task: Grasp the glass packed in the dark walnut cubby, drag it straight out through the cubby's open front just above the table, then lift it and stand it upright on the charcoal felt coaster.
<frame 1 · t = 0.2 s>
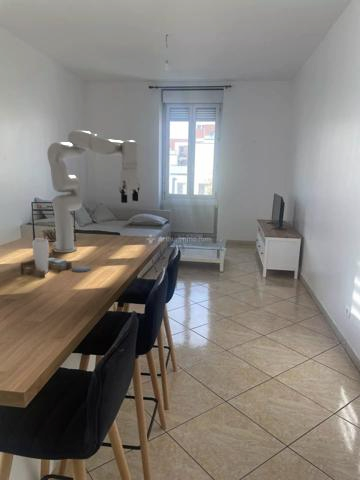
hand: (129, 201, 177), 31 cm above the table, fingers open, 9 cm apart
walnut cubby: (48, 270, 165), on the table
felt coaster: (81, 269, 168), on the table
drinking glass: (42, 272, 162), resting in walnut cubby
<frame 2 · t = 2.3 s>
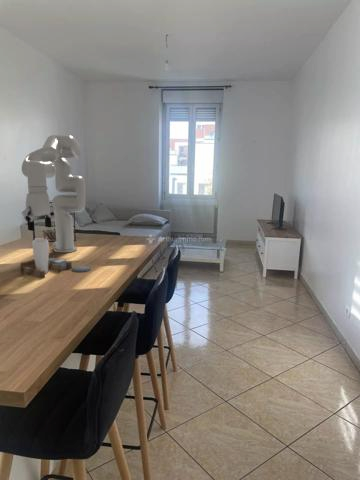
hand: (40, 228, 158), 20 cm above the table, fingers open, 9 cm apart
nothing on the table moved.
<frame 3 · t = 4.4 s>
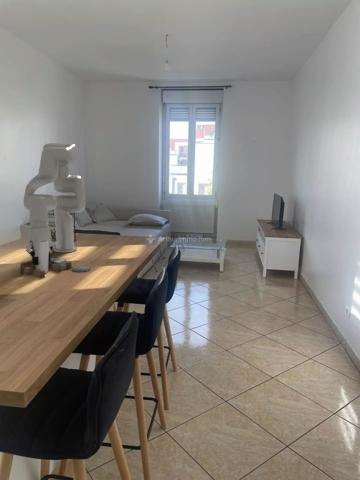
hand: (41, 262, 161), 5 cm above the table, fingers closed on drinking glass, 6 cm apart
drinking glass: (42, 272, 162), resting in walnut cubby, touching gripper
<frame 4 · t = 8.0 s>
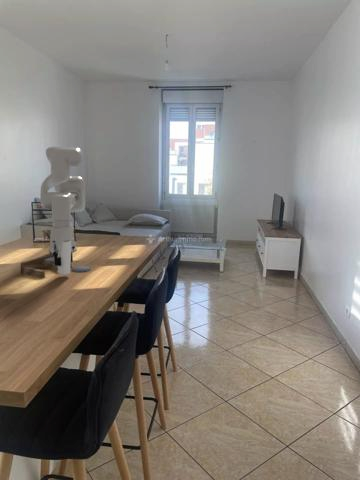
hand: (63, 263, 156), 6 cm above the table, fingers closed on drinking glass, 6 cm apart
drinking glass: (64, 273, 157), point 1 cm above the table, touching gripper
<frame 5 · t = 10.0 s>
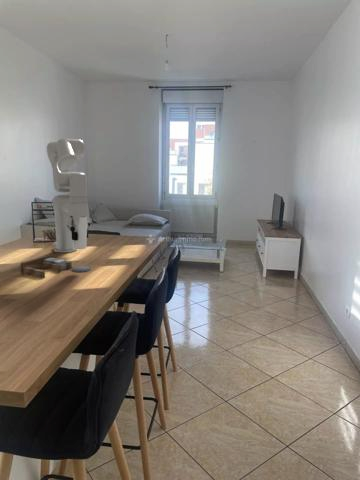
hand: (80, 238, 165), 15 cm above the table, fingers closed on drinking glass, 6 cm apart
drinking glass: (80, 248, 166), point 10 cm above the table, touching gripper
when the fingers open (6 cm above the table, at t = 11.8 s): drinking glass stays where it is, resting on felt coaster.
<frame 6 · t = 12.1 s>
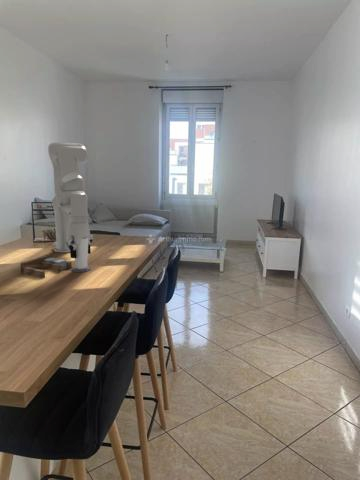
hand: (80, 255, 167), 7 cm above the table, fingers open, 9 cm apart
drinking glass: (81, 268, 169), resting on felt coaster
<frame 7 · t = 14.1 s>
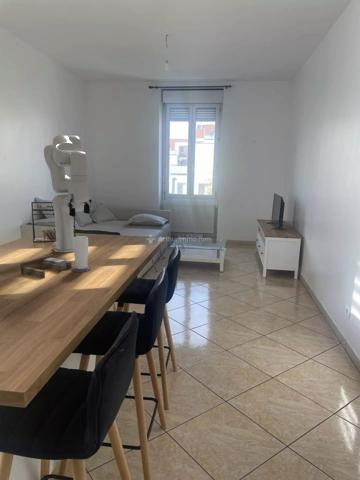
hand: (79, 214, 169), 25 cm above the table, fingers open, 9 cm apart
nothing on the table moved.
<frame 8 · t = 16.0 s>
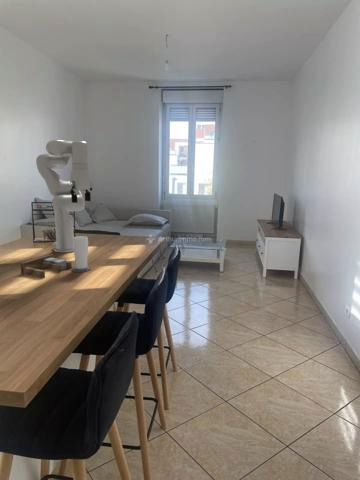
hand: (81, 201, 178), 30 cm above the table, fingers open, 9 cm apart
nothing on the table moved.
at the end: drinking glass 0.4 cm from the felt coaster (horizontally); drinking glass tilted 0°; the gripper is holding nothing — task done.
